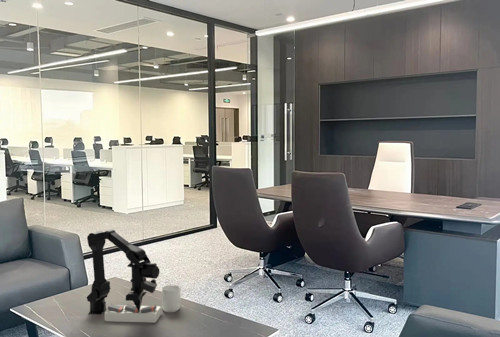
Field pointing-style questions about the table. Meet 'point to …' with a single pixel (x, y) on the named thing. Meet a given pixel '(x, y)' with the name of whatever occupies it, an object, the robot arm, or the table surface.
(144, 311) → the rocker
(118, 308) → the rocker
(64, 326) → the table surface
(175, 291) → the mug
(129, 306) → the rocker
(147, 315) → the power strip
